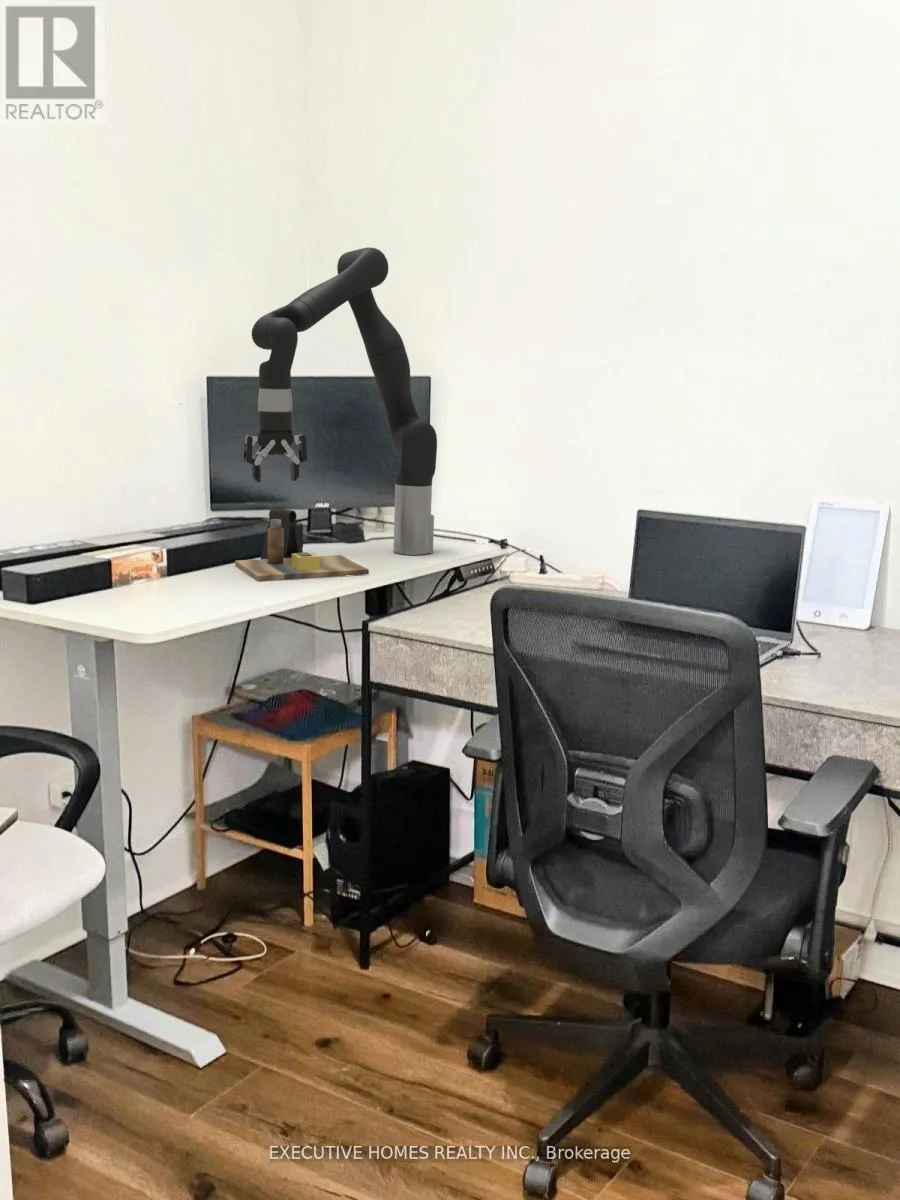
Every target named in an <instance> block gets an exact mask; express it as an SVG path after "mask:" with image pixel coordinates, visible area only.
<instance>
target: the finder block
mask: <svg viewBox="0 0 900 1200" xmlns="http://www.w3.org/2000/svg"><path fill="white" fill-rule="evenodd" d="M320 556H321V555H320ZM320 556H319V554H316V553H314V552H307V551H303V552H302V553H292V567H293V568H295V569H296V570H298V571H303V570H320Z"/></svg>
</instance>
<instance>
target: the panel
mask: <svg viewBox="0 0 900 1200" xmlns="http://www.w3.org/2000/svg"><path fill="white" fill-rule="evenodd" d="M234 562H235V563H234V565H235V566H234V567H237V568H238V569H239V570H241V571H242V572H244V573H245V574H246V575H248V576H249V577H251V578H252V579H254V580H255V581H256V582H266V581H267V582H270V581H271V582H273V581H285V580H288V579H289V580H302V579H303V580H305V579H317V578H318V579H319V578H322V579H323V578H335V577H338V576H339V577H347V576H346V575H355V576H367V575H366V574H369V573H370V572H369V570H370V569H368V568H367V567H365V566H363V565H361V564H359V563H357V562H355V561H353V560H352V559H349V558H347V557H345V556H344V555H341V554H337V555H335V554H333V555H320V570H303V571H298V570H296V569H295V568H293V567H292V558H284V560H283V564H269V563H268V559H261V558H258V559H256V558H255V559H243V560H242V559H240V560H239V559H238V560H235V561H234ZM364 574H365V575H364ZM304 578H305V579H304Z"/></svg>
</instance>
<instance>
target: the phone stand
mask: <svg viewBox="0 0 900 1200" xmlns="http://www.w3.org/2000/svg"><path fill="white" fill-rule="evenodd" d="M268 517H269V518H268V520H269V521H268V525H267V529H266V534H265V537H264V542H263V547H262V550H261V554H260V555H261V556H260V559H268V528H270V520H271V519H280V520H281V528H284V558H292V553H302V552H304V550H303V546H302V542H301V537H300V534H299V533H300V532H299V530H298V525H297V513H296V511H295V510H292V509H291V510H290V509H286V508H285V509H283V508H276V507H274V508H270V509H269V513H268Z"/></svg>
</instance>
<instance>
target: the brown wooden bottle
mask: <svg viewBox="0 0 900 1200" xmlns="http://www.w3.org/2000/svg"><path fill="white" fill-rule="evenodd" d="M267 529H268V563H269V564H283V560H284V528H281V520H280V519H271V520H270V528H268V527H267Z"/></svg>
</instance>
